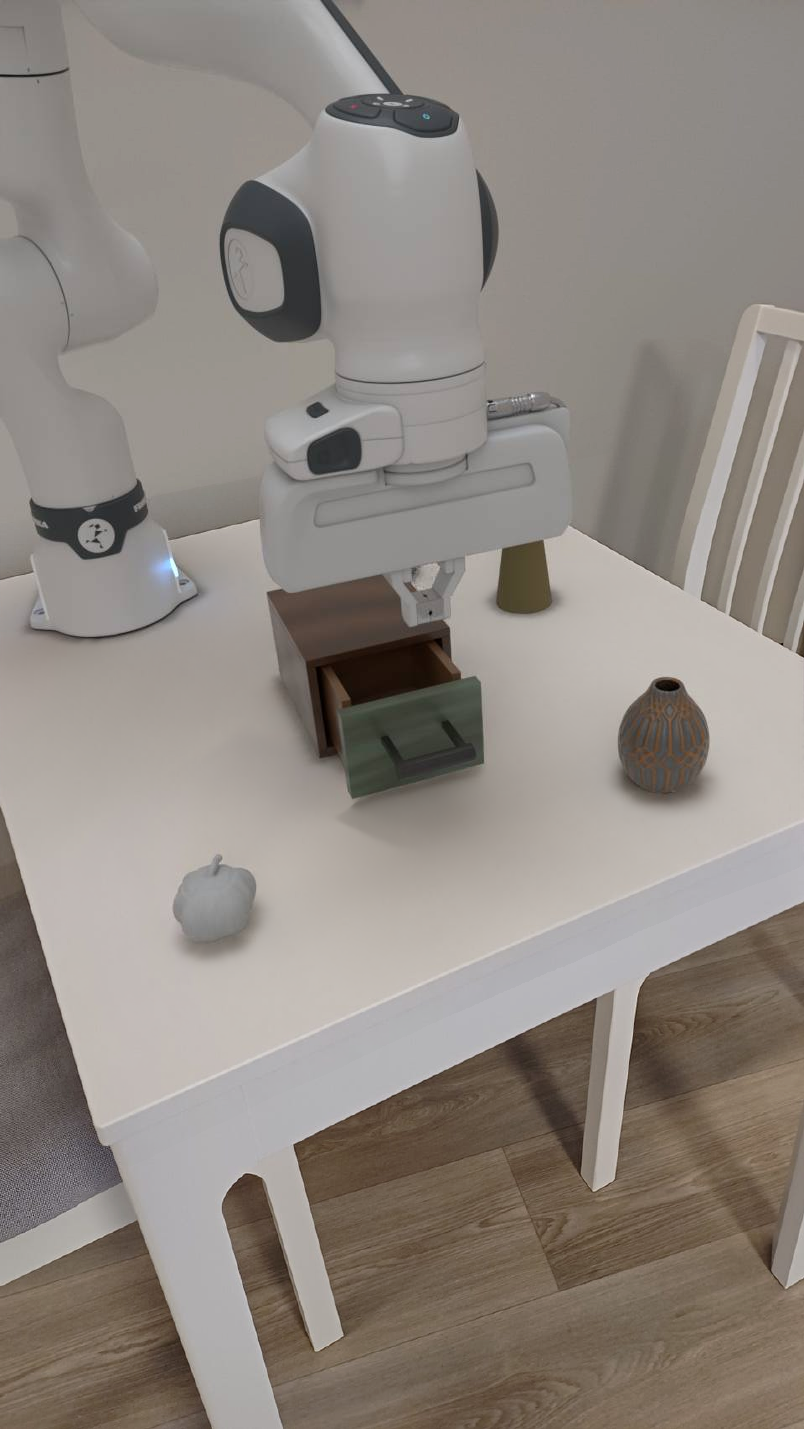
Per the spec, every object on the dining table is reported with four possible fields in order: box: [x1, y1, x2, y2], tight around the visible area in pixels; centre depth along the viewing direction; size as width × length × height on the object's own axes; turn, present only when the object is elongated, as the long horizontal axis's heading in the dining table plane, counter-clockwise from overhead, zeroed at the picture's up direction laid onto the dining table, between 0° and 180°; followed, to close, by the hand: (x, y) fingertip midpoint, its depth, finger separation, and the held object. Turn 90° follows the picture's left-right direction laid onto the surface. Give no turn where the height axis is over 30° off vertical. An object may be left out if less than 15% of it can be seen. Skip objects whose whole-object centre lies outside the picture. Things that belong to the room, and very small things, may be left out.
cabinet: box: [266, 574, 453, 759], centre depth 90 cm, size 15×13×10 cm
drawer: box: [316, 639, 485, 800], centre depth 81 cm, size 19×11×8 cm, turn 19°
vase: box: [617, 676, 711, 794], centre depth 77 cm, size 7×7×9 cm
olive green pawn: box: [495, 539, 553, 614], centre depth 105 cm, size 6×6×11 cm
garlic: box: [172, 853, 257, 944], centre depth 68 cm, size 6×5×5 cm
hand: (426, 619), depth 67 cm, fingers closed
